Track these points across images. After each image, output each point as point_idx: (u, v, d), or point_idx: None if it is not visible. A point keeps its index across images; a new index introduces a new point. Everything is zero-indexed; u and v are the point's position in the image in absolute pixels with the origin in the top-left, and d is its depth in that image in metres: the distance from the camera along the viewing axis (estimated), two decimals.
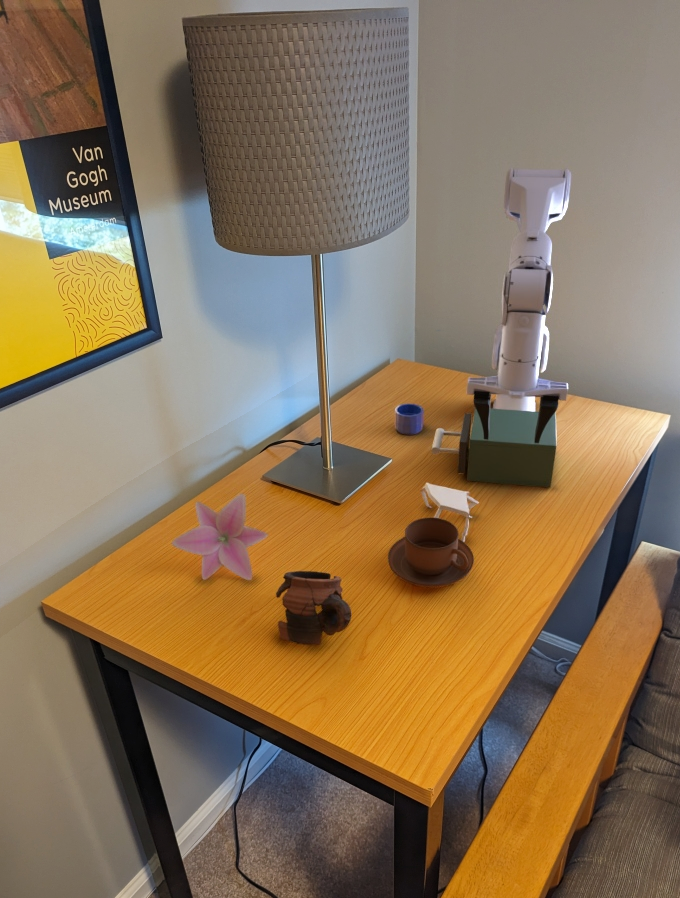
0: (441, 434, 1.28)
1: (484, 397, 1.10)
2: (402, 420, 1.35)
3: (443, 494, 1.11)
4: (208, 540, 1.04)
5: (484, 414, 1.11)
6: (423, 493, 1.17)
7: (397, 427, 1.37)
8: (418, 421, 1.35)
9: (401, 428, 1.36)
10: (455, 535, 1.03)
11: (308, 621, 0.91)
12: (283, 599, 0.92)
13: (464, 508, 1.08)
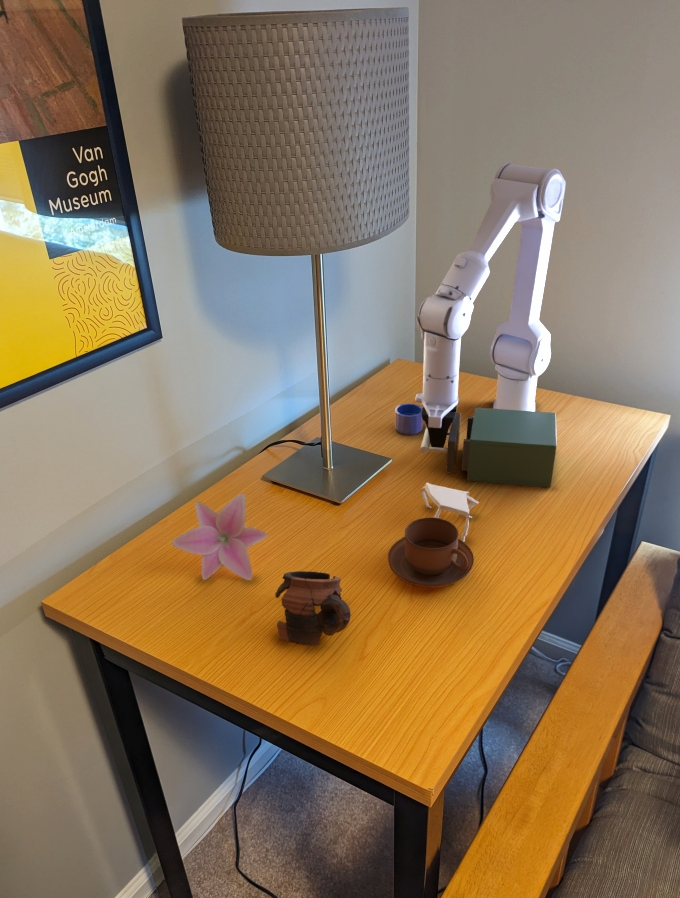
0: None
1: None
2: (402, 420, 1.35)
3: (443, 494, 1.11)
4: (208, 540, 1.04)
5: None
6: (423, 493, 1.17)
7: (397, 427, 1.37)
8: (418, 421, 1.35)
9: (401, 428, 1.36)
10: (455, 535, 1.03)
11: (308, 621, 0.91)
12: (282, 599, 0.92)
13: (464, 508, 1.08)
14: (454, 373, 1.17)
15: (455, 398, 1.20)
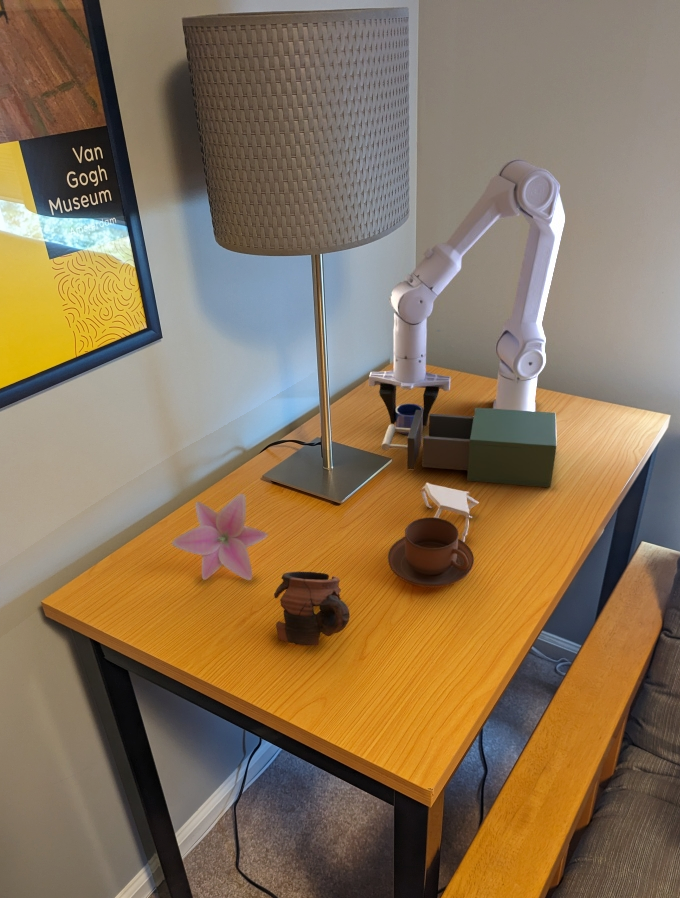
0: (392, 430, 1.29)
1: (388, 388, 1.33)
2: (402, 420, 1.35)
3: (443, 494, 1.11)
4: (208, 540, 1.04)
5: (389, 402, 1.34)
6: (423, 493, 1.17)
7: None
8: None
9: None
10: (455, 535, 1.03)
11: (307, 622, 0.91)
12: (281, 600, 0.92)
13: (464, 508, 1.08)
14: (413, 355, 1.27)
15: None
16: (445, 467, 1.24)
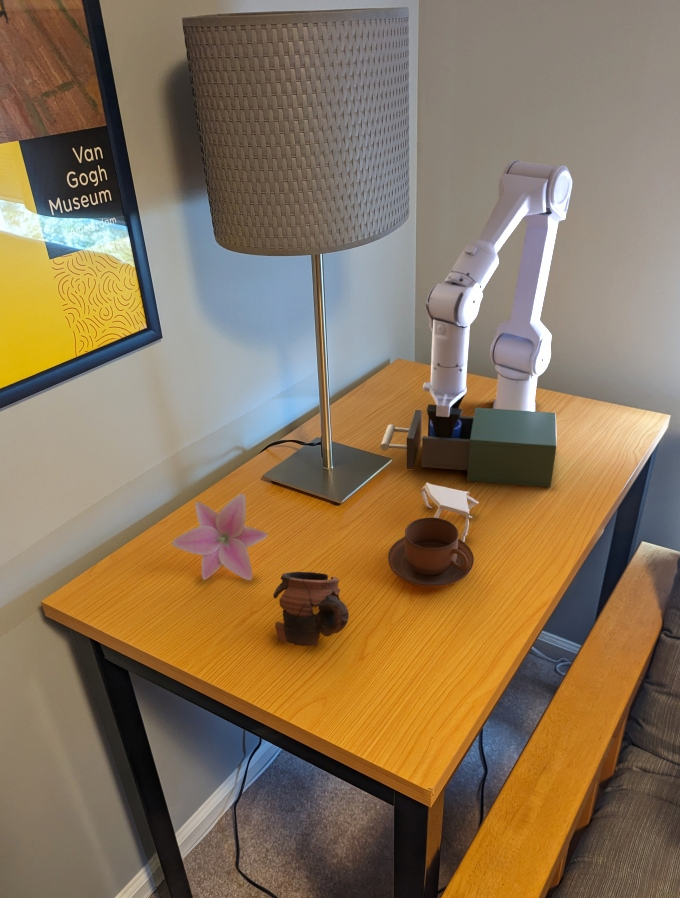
0: (391, 430, 1.29)
1: None
2: None
3: (443, 494, 1.11)
4: (208, 540, 1.04)
5: None
6: (423, 493, 1.17)
7: None
8: (433, 434, 1.24)
9: None
10: (455, 535, 1.03)
11: (306, 622, 0.91)
12: (280, 600, 0.92)
13: (464, 508, 1.08)
14: (463, 361, 1.16)
15: (463, 387, 1.19)
16: (444, 467, 1.24)
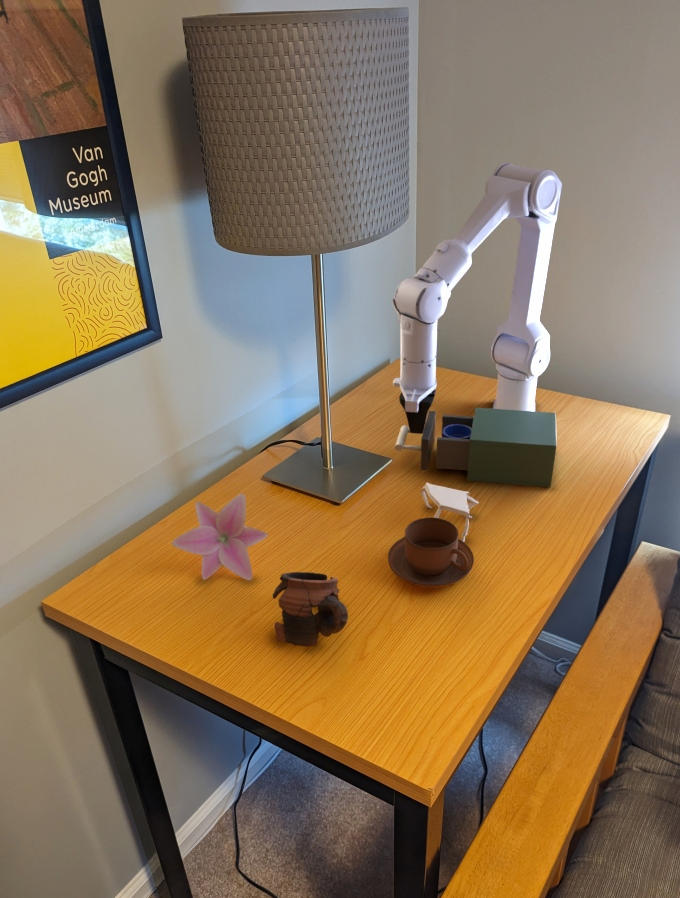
0: (405, 431, 1.29)
1: None
2: None
3: (443, 494, 1.11)
4: (208, 540, 1.04)
5: None
6: (423, 493, 1.17)
7: None
8: None
9: None
10: (455, 535, 1.03)
11: (305, 622, 0.91)
12: (279, 600, 0.92)
13: (464, 508, 1.08)
14: (429, 357, 1.16)
15: (433, 382, 1.20)
16: (459, 468, 1.24)
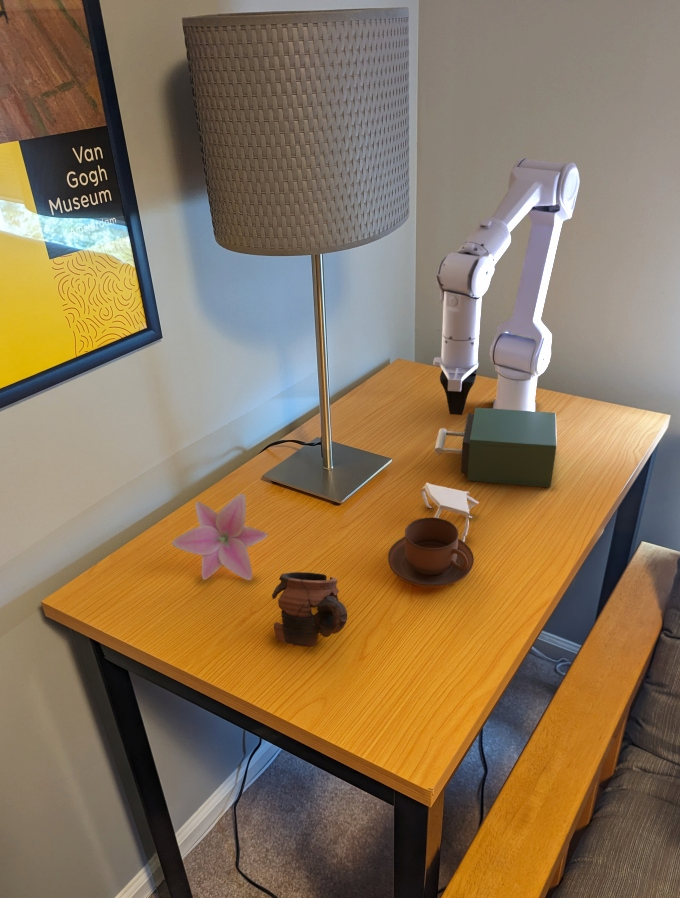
0: (444, 434, 1.28)
1: None
2: None
3: (443, 494, 1.11)
4: (208, 540, 1.04)
5: None
6: (423, 493, 1.17)
7: None
8: None
9: None
10: (455, 535, 1.03)
11: (304, 623, 0.91)
12: (279, 600, 0.92)
13: (464, 508, 1.08)
14: (476, 334, 1.13)
15: (475, 361, 1.16)
16: None
